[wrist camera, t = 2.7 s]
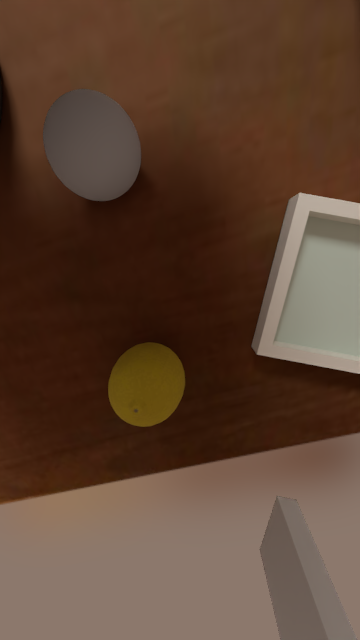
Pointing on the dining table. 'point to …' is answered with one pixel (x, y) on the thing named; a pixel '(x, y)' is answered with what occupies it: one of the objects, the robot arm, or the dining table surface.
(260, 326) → the square dish
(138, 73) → the dining table surface
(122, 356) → the lemon
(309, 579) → the robot arm
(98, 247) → the dining table surface
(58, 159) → the grey rubber ball
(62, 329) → the dining table surface
